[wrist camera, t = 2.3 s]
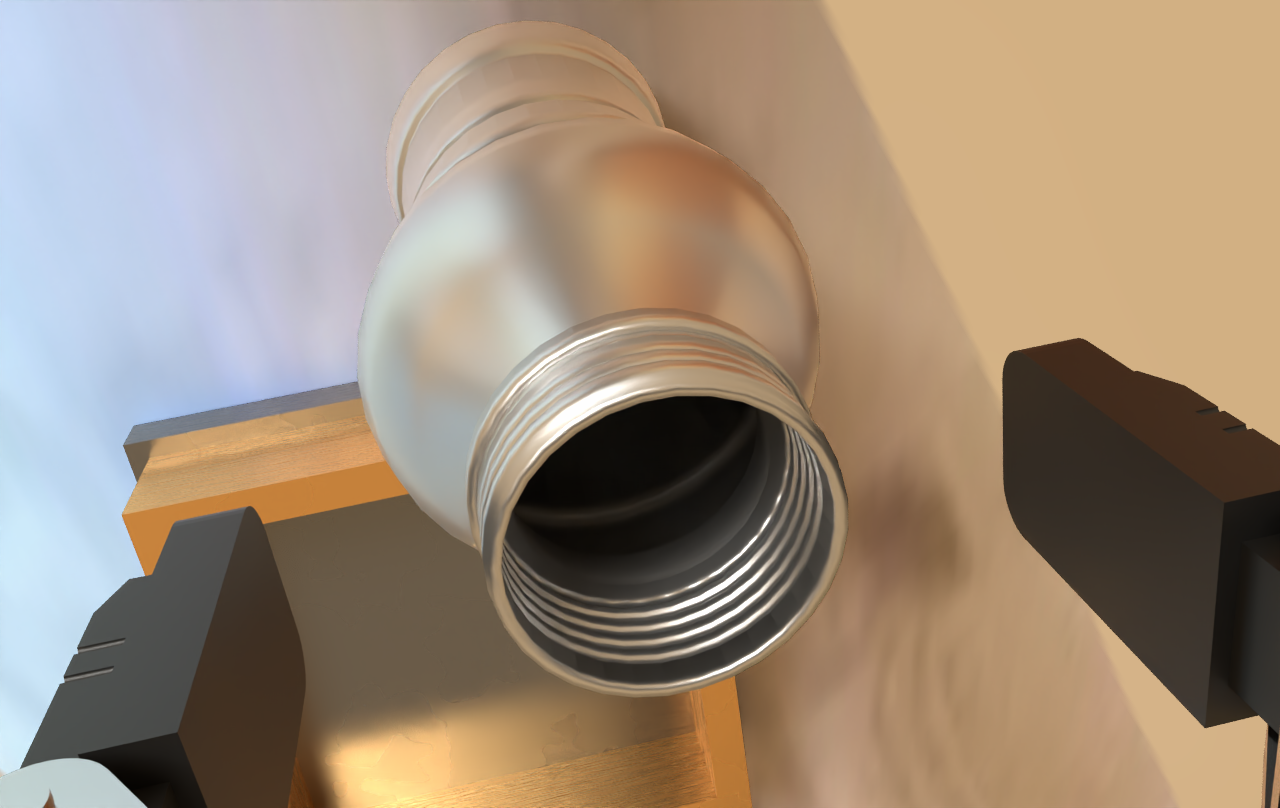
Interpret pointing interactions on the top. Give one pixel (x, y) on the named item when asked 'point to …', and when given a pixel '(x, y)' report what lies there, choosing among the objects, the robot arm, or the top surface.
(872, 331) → the top surface
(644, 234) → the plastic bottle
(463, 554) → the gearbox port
